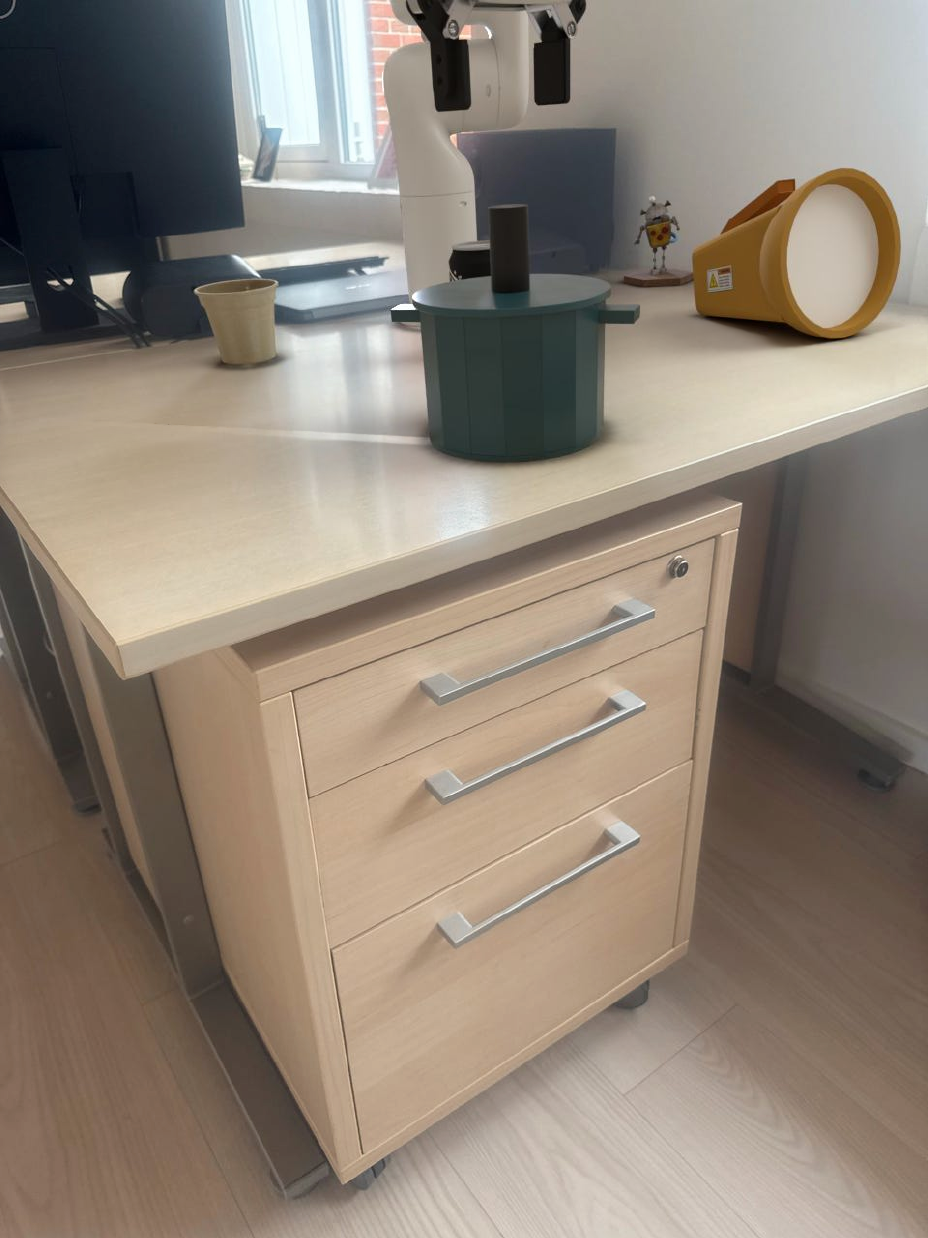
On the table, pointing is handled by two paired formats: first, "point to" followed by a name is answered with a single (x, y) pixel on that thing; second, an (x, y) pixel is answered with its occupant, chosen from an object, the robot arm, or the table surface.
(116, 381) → the table surface
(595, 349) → the pot
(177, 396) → the table surface
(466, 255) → the beverage can
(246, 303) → the flower pot
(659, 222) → the robot figurine
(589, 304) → the lid
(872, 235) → the flared yellow plastic housing
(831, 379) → the table surface
